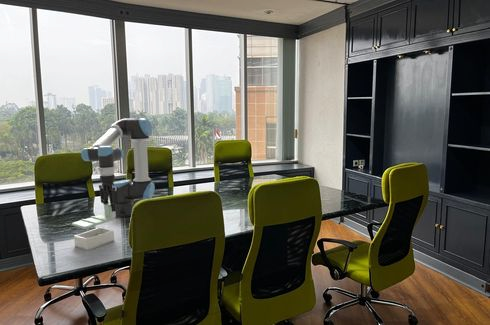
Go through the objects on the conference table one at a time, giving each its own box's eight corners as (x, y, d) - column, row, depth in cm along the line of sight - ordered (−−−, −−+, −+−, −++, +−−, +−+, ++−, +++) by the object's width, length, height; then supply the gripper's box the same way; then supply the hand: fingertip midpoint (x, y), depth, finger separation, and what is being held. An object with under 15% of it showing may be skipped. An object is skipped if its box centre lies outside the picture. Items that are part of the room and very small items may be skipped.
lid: (71, 225, 191) (70, 211, 190) (106, 214, 208) (106, 202, 207) (85, 228, 185) (83, 214, 184) (120, 218, 202) (119, 204, 201)
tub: (75, 246, 193) (74, 235, 192) (101, 237, 206) (101, 227, 205) (87, 250, 187) (86, 239, 186) (114, 241, 200) (113, 230, 199)
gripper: (91, 174, 202) (94, 215, 205) (111, 177, 192) (114, 220, 196) (103, 172, 208) (106, 212, 211) (123, 174, 198) (126, 216, 202)
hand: (110, 216), depth 203 cm, fingers closed on lid, 4 cm apart
